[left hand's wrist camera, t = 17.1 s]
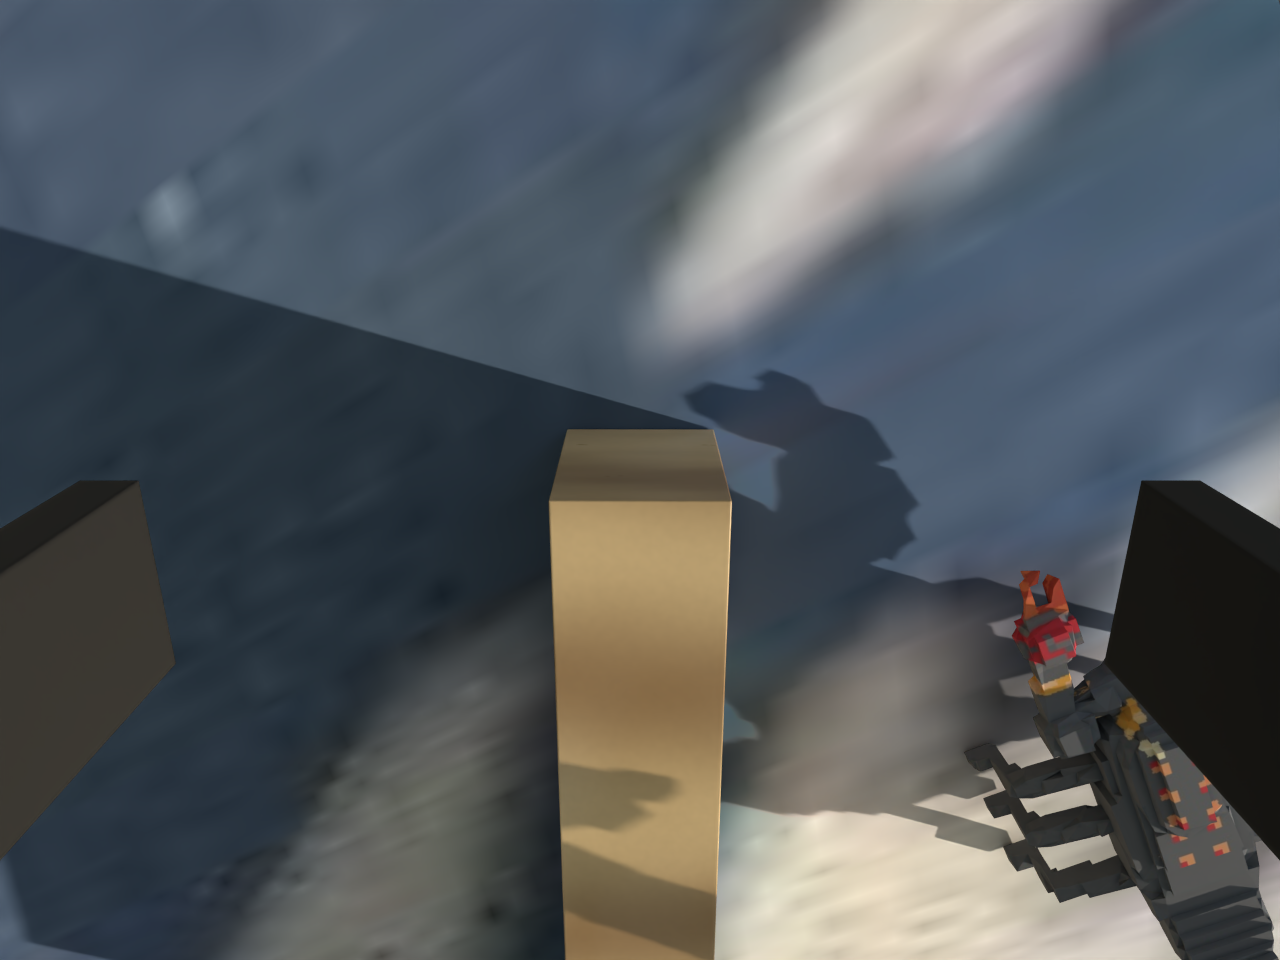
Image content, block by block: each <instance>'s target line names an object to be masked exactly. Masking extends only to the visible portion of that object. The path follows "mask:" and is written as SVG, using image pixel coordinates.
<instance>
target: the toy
mask: <svg viewBox="0 0 1280 960" xmlns="http://www.w3.org/2000/svg"><path fill="white" fill-rule="evenodd" d="M1021 573H1022V575H1023V577H1024V580H1023V581H1022V582H1021V583H1020V584H1019V586H1020V589H1021V592H1022V596H1023V599H1024V611H1023V613H1022V617H1021V618H1020V619H1018V620H1016V621H1014V622H1015V624H1016V626H1017V628H1016V630H1015V631H1014V633H1013V635H1012V637H1013V639H1014V641H1015V643H1016V644H1017V646H1018V648H1019V650H1020V652H1021V654H1022V656H1023V658H1024V659H1027V660H1028V661H1029V664H1030V666H1031V669H1032V672H1033V674H1034V676H1033V677H1032V678H1031V679H1030V680H1029V681H1028V682H1029V685H1030V688H1031V691H1032V694H1033V697H1034V699H1035V702H1036V705H1037V708H1038V710H1039V713H1040V714H1038V715H1037V716H1035V717H1033V719H1034V721H1035V724H1036V726H1037V729H1038V731H1039V734H1040V736H1041V738H1042V740H1043V741H1044V743H1045V744H1046V746H1047V748H1048V749H1049V751H1050V753H1051V754H1052V756H1053V757H1054V759H1050V760H1047V761H1044V762H1040V763H1037V764H1034V765H1030V766H1027V767H1024V768H1022V769H1021V768H1020V767H1019V766H1018V765H1017V764H1016V763H1013V764H1011V765H1008V764H1007V762H1006V761H1005V759H1004V758H1003V756H1002V755H1001V753H1000V752H999V750H998V749H997V747H996V746H995V745H992V744H989V743H988V744H985V745H983V746H980V747H977V748H975V749H972V750H969V751H966V752H964V753H965V755H966V757H967V760H968V762H969V763H970V764H971V765H972V766H973V767H974V768H975V769H977V770H979V771H983V770H986V769H989V768H992V767H993V768H994V770H995V772H996V773H997V775H998V777H999V779H1000V780H1001V782H1002V784H1003V786H1004V788H1005V789H1006V790H1005V791H1002V792H1000V793H997V794H994V795H991V796H989V797H986V798H983V799H984V801H985V803H986V806H987V808H988V809H989V811H990V813H991V814H992V816H993V817H994V818H998V817H1001V816H1005V815H1009V814H1012V815H1013V817H1014V819H1015V821H1016V822H1017V824H1018V826H1019V828H1020V830H1021V831H1022V833H1023V835H1024V837H1025V839H1024V840H1022V841H1019V842H1016V843H1013V844H1010V845H1007V846H1004V850H1005V852H1006V854H1007V857H1008V859H1009V861H1010V862H1011V864H1012V865H1013V866H1014V868H1015V869H1016V870H1017V871H1021V870H1024V869H1027V868H1031V867H1034V868H1035V870H1036V872H1037V874H1038V876H1039V878H1040V880H1041V881H1042V883H1043V885H1044V887H1045V888H1046V890H1047V892H1048V893H1051V892H1054V893H1055V895H1056V897H1057V899H1058V900H1059V902H1060V903H1061V902H1064V901H1067V900H1070V899H1073V898H1076V897H1079V896H1082V895H1085V894H1088V896H1089V897H1090V898H1091V897H1095V896H1099V895H1102V894H1106V893H1110V892H1114V891H1118V890H1122V889H1126V888H1130V887H1134V886H1137V887H1138V888H1139V890H1140V891H1141V893H1142V895H1143V897H1144V899H1145V900H1146V902H1147V904H1148V906H1149V908H1150V909H1151V911H1152V913H1153V914H1154V916H1155V917H1156V918H1157V920H1158V921H1159V922H1160V925H1161V927H1162V929H1163V930H1164V932H1165V934H1166V936H1167V938H1168V940H1169V942H1170V944H1171V946H1172V947H1173V949H1174V951H1175V953H1176V954H1177V955H1178V956H1179V957H1180V959H1181V960H1279V959H1278V957H1277V956H1276V955H1275V953H1274V952H1273V944H1274V939H1273V934H1272V931H1273V929H1274V927H1273V924H1272V921H1271V919H1270V916H1269V914H1268V912H1267V910H1266V907H1265V905H1264V903H1263V900H1262V898H1261V895H1260V892H1259V862H1258V856H1257V851H1256V845H1255V842H1258V841H1261V839H1260V838H1259V836H1258V835H1257V834H1256V833H1255V832H1254V831H1253V830H1252V829H1251V827H1250V826H1249V825H1248V824H1247V823H1246V822H1245V821H1244V820H1243V819H1242V817H1241V816H1240V815H1239V814H1238V813H1237V812H1236V811H1235V810H1234V808H1233V807H1232V806H1231V805H1230V804H1229V803H1228V802H1227V801H1226V799H1225V798H1224V797H1223V796H1222V795H1221V794H1220V793H1219V792H1218V790H1217V789H1216V788H1215V787H1214V786H1213V785H1212V784H1211V783H1210V782H1209V780H1208V779H1207V778H1206V777H1205V776H1204V775H1203V774H1202V773H1201V771H1200V770H1199V769H1198V768H1197V767H1196V766H1195V765H1194V764H1193V762H1192V761H1191V760H1190V759H1189V758H1188V757H1187V756H1186V755H1185V753H1184V752H1183V751H1182V750H1181V749H1180V748H1179V747H1178V746H1177V744H1176V743H1175V742H1174V741H1173V740H1172V739H1171V738H1170V737H1169V736H1168V734H1167V733H1166V732H1165V731H1164V730H1163V729H1162V728H1161V727H1160V725H1159V724H1158V723H1157V722H1156V721H1155V720H1154V719H1153V718H1152V716H1151V715H1150V714H1149V713H1148V712H1147V711H1146V710H1145V709H1144V707H1143V706H1142V705H1141V704H1140V703H1139V702H1138V701H1137V700H1136V699H1135V697H1134V696H1133V695H1132V694H1131V693H1130V692H1129V691H1128V690H1127V688H1126V687H1125V686H1124V685H1123V684H1122V683H1121V682H1120V681H1119V679H1118V678H1117V677H1116V676H1115V675H1114V674H1113V673H1112V672H1111V670H1110V669H1109V668H1108V667H1107V666H1106V665H1105V664H1104V663H1105V659H1104V661H1103V663H1102V664H1101V665H1100V666H1099V667H1097V668H1095V669H1094V670H1092V671H1091V672H1089V673H1088V674H1086V675H1084V676H1083V677H1084V680H1083V681H1082V682H1081V683H1080V684H1079V685H1078V686H1077V687H1075V688H1074V687H1073V684H1072V680H1071V677H1070V673H1069V669H1068V666H1067V663H1068V662H1069V661H1071V660H1072V658H1073V657H1075V656H1076V646H1077V645H1079V644H1082V643H1084V641H1083V638H1082V635H1081V632H1080V629H1079V626H1078V624H1077V621H1076V618H1075V617H1074V616H1073V615H1072V614H1071V613H1070V612H1069V609H1068V606H1067V602H1066V599H1065V596H1064V593H1063V589H1062V586H1061V583H1060V580H1059V579H1058V578H1056V577H1053V576H1051V575H1048V574H1047V576H1046V578H1045V580H1044V581H1043V587H1044V590H1045V593H1046V597H1047V600H1048V604H1045V605H1042V606H1038V605H1037V606H1036V605H1035V602H1034V599H1033V596H1032V593H1031V590H1030V587H1031V586H1033V585H1035V584H1038V578H1039V573H1040V571H1021ZM1058 756H1059V757H1058ZM1055 757H1057V758H1055ZM1089 783H1090V785H1091V788H1092V790H1093V793H1094V796H1095V799H1096V802H1097V804H1098V805H1097V806H1087V805H1083V806H1079V807H1075V808H1071V809H1067V810H1063V811H1059V812H1056V813H1052V814H1048V815H1044V816H1042V817H1040V816H1039V815H1038V814H1036V813H1035V812H1034V811H1032V812H1029V813H1027V811H1026V810H1025V808H1024V806H1023V804H1022V803H1021V801H1020V799H1019V798H1036V797H1040V796H1043V795H1047V794H1051V793H1055V792H1058V791H1062V790H1066V789H1070V788H1074V787H1077V786H1081V785H1085V784H1089ZM1107 834H1109V836H1110V839H1111V841H1112V844H1113V846H1114V849H1115V851H1116V853H1117V855H1116V856H1114V857H1111V858H1108V859H1106V860H1103V861H1101V862H1098V863H1096V864H1093V865H1092V863H1091V862H1090V860H1088V861H1085V862H1082V863H1080V864H1077V865H1074V866H1071V867H1068V868H1065V869H1062V870H1059V871H1057V869H1056V868H1054V869H1052V870H1050V868H1049V866H1048V865H1047V863H1046V862H1045V860H1044V858H1043V857H1042V855H1041V854H1040V852H1039V850H1038V848H1037V847H1052V846H1056V845H1061V844H1065V843H1069V842H1074V841H1078V840H1082V839H1086V838H1091V837H1095V836H1099V835H1101V836H1102V837H1103V836H1105V835H1107ZM1035 847H1036V848H1035Z"/></svg>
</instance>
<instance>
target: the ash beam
mask: <svg viewBox="0 0 1280 960" xmlns="http://www.w3.org/2000/svg"><path fill="white" fill-rule="evenodd" d="M731 511H732V500H731V497H730V493H729V489H728V485H727V481H726V477H725V473H724V469H723V465H722V461H721V457H720V454H719V450H718V446H717V442H716V438H715V434H714V430H690V429H568V430H567V432H566V436H565V440H564V444H563V448H562V452H561V456H560V459H559V463H558V467H557V471H556V475H555V479H554V483H553V487H552V491H551V495H550V498H549V524H550V552H551V580H552V608H553V636H554V664H555V691H556V719H557V747H558V775H559V803H560V831H561V858H562V886H563V914H564V942H565V960H714V950H715V925H716V899H717V873H718V847H719V821H720V795H721V769H722V744H723V718H724V692H725V666H726V640H727V614H728V588H729V563H730V537H731Z"/></svg>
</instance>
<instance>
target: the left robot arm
mask: <svg viewBox="0 0 1280 960" xmlns="http://www.w3.org/2000/svg"><path fill="white" fill-rule="evenodd" d="M1279 3H1280V0H1279ZM175 664H176V663H175V658H174V653H173V648H172V643H171V638H170V633H169V628H168V623H167V618H166V613H165V609H164V604H163V599H162V594H161V589H160V584H159V579H158V574H157V569H156V564H155V559H154V554H153V550H152V545H151V540H150V535H149V530H148V525H147V520H146V515H145V510H144V505H143V500H142V495H141V491H140V486H139V481H78V482H77V483H75V484H74V485H72V486H70V487H69V488H67V489H65V490H64V491H62V492H60V493H59V494H57V495H55V496H54V497H52V498H50V499H49V500H47V501H45V502H44V503H42V504H40V505H39V506H37V507H35V508H34V509H32V510H30V511H29V512H27V513H25V514H24V515H22V516H20V517H19V518H17V519H15V520H14V521H12V522H11V523H9V524H7V525H6V526H4V527H2V528H1V529H0V860H1V859H2V858H3V857H4V856H5V854H6V853H7V852H8V851H9V850H10V849H11V848H12V847H13V845H14V844H15V843H16V842H17V841H18V840H19V839H20V838H21V836H22V835H23V834H24V833H25V832H26V831H27V830H28V829H29V827H30V826H31V825H32V824H33V823H34V822H35V821H36V820H37V819H38V817H39V816H40V815H41V814H42V813H43V812H44V811H45V810H46V808H47V807H48V806H49V805H50V804H51V803H52V802H53V801H54V799H55V798H56V797H57V796H58V795H59V794H60V793H61V792H62V790H63V789H64V788H65V787H66V786H67V785H68V784H69V783H70V782H71V780H72V779H73V778H74V777H75V776H76V775H77V774H78V773H79V771H80V770H81V769H82V768H83V767H84V766H85V765H86V764H87V762H88V761H89V760H90V759H91V758H92V757H93V756H94V755H95V753H96V752H97V751H98V750H99V749H100V748H101V747H102V746H103V744H104V743H105V742H106V741H107V740H108V739H109V738H110V737H111V736H112V734H113V733H114V732H115V731H116V730H117V729H118V728H119V727H120V725H121V724H122V723H123V722H124V721H125V720H126V719H127V718H128V716H129V715H130V714H131V713H132V712H133V711H134V710H135V709H136V707H137V706H138V705H139V704H140V703H141V702H142V701H143V700H144V699H145V697H146V696H147V695H148V694H149V693H150V692H151V691H152V690H153V688H154V687H155V686H156V685H157V684H158V683H159V682H160V681H161V679H162V678H163V677H164V676H165V675H166V674H167V673H168V672H169V670H170V669H171V668H172V667H173V666H174V665H175ZM1104 664H1105V665H1106V666H1107V667H1108V668H1109V669H1110V670H1111V672H1112V673H1113V674H1114V675H1115V676H1116V677H1117V678H1118V679H1119V681H1120V682H1121V683H1122V684H1123V685H1124V686H1125V687H1126V688H1127V690H1128V691H1129V692H1130V693H1131V694H1132V695H1133V696H1134V697H1135V699H1136V700H1137V701H1138V702H1139V703H1140V704H1141V705H1142V706H1143V707H1144V709H1145V710H1146V711H1147V712H1148V713H1149V714H1150V715H1151V716H1152V718H1153V719H1154V720H1155V721H1156V722H1157V723H1158V724H1159V725H1160V727H1161V728H1162V729H1163V730H1164V731H1165V732H1166V733H1167V734H1168V736H1169V737H1170V738H1171V739H1172V740H1173V741H1174V742H1175V743H1176V744H1177V746H1178V747H1179V748H1180V749H1181V750H1182V751H1183V752H1184V753H1185V755H1186V756H1187V757H1188V758H1189V759H1190V760H1191V761H1192V762H1193V764H1194V765H1195V766H1196V767H1197V768H1198V769H1199V770H1200V771H1201V773H1202V774H1203V775H1204V776H1205V777H1206V778H1207V779H1208V780H1209V782H1210V783H1211V784H1212V785H1213V786H1214V787H1215V788H1216V789H1217V790H1218V792H1219V793H1220V794H1221V795H1222V796H1223V797H1224V798H1225V799H1226V801H1227V802H1228V803H1229V804H1230V805H1231V806H1232V807H1233V808H1234V810H1235V811H1236V812H1237V813H1238V814H1239V815H1240V816H1241V817H1242V819H1243V820H1244V821H1245V822H1246V823H1247V824H1248V825H1249V826H1250V827H1251V829H1252V830H1253V831H1254V832H1255V833H1256V834H1257V835H1258V836H1259V838H1260V839H1261V840H1262V841H1263V842H1264V843H1265V844H1266V845H1267V847H1268V848H1269V849H1270V850H1271V851H1272V852H1273V853H1274V854H1275V856H1276V857H1277V858H1278V859H1279V860H1280V529H1279V528H1278V527H1276V526H1274V525H1273V524H1271V523H1269V522H1268V521H1266V520H1265V519H1263V518H1261V517H1260V516H1258V515H1256V514H1255V513H1253V512H1251V511H1250V510H1248V509H1246V508H1245V507H1243V506H1241V505H1240V504H1238V503H1236V502H1235V501H1233V500H1231V499H1230V498H1228V497H1226V496H1225V495H1223V494H1221V493H1220V492H1218V491H1216V490H1215V489H1213V488H1211V487H1210V486H1208V485H1206V484H1205V483H1203V482H1202V481H1141V486H1140V491H1139V495H1138V500H1137V505H1136V510H1135V515H1134V520H1133V525H1132V530H1131V535H1130V540H1129V545H1128V550H1127V554H1126V559H1125V564H1124V569H1123V574H1122V579H1121V584H1120V589H1119V594H1118V599H1117V604H1116V609H1115V613H1114V618H1113V623H1112V628H1111V633H1110V638H1109V643H1108V648H1107V653H1106V658H1105V663H1104Z"/></svg>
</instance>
